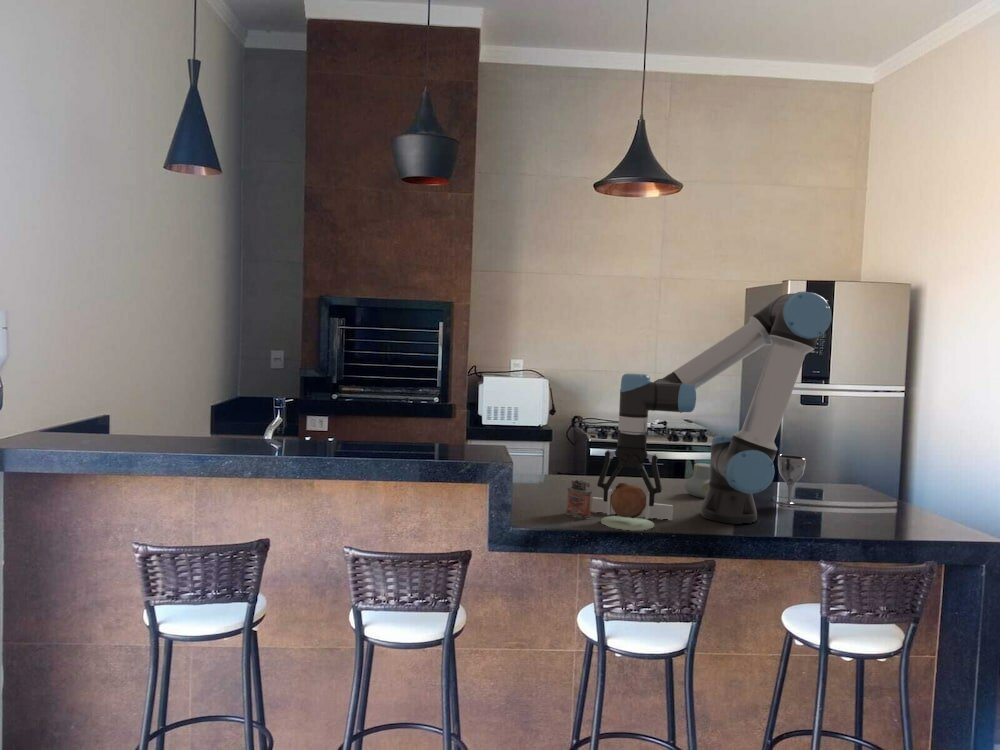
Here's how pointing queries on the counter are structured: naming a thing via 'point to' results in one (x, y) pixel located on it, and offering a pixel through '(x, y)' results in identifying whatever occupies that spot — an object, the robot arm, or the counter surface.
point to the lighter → (579, 499)
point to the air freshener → (699, 480)
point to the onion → (628, 500)
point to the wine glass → (791, 470)
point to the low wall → (654, 511)
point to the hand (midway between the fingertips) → (627, 515)
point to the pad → (627, 523)
